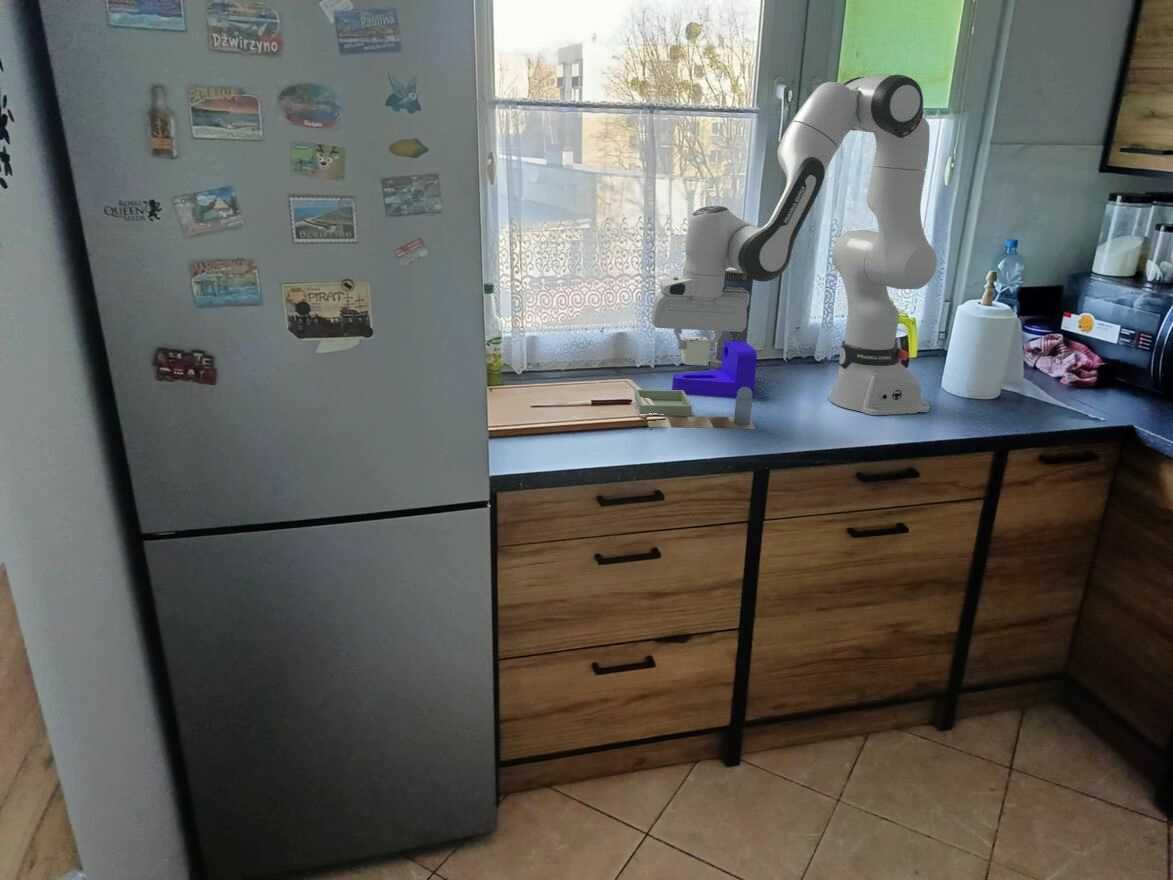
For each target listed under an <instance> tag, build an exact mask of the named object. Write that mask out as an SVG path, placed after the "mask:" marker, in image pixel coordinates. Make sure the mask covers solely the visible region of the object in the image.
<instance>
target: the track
mask: <svg viewBox="0 0 1173 880" xmlns="http://www.w3.org/2000/svg"><path fill="white" fill-rule="evenodd" d="M647 425H648V428H649V430H652V428H678V429H679V428H683V429H684V428H685V429H689V428H693V429H744V430H745V429H747V430H750V429H751V430H756V427H755V425H754V424H753V422H752V420H750V424H749V425H737V424H735V423H734V416H692V415H691V416H666V419H665V420H656V421H648V423H647Z"/></svg>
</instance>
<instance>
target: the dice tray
mask: <svg viewBox="0 0 1173 880" xmlns="http://www.w3.org/2000/svg"><path fill="white" fill-rule="evenodd" d="M634 397H635V400H636V404H637V407H638V410H639V413H640V414H649V413H652V414H653V413H658V414H664V415H666V416H692V404H691V402H690V400H689V399H688V396H687V394H685V392H684V390H672V389H634ZM640 397H643V398H649V399H651V400H652V402H653V403H654V405H643V404H642V401H641V398H640Z"/></svg>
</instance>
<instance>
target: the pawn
mask: <svg viewBox="0 0 1173 880" xmlns="http://www.w3.org/2000/svg"><path fill="white" fill-rule="evenodd" d="M752 406H753V397H752V391H751V389H750V388H748V387H742V388H740V389H739V390H738V392H737V397H736V398H735V406H734V414H733V417H734V423H735V424H737V425H749V424H750V421H751V415H752Z"/></svg>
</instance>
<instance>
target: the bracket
mask: <svg viewBox="0 0 1173 880" xmlns="http://www.w3.org/2000/svg"><path fill="white" fill-rule="evenodd" d="M756 369H757V352H756V349H755V348H753V346H751V345H750V344H749V343H747V342H745V341H743V342H725V343H724V346H723V354H722V365H721V369H720V370H712V371H710V370H704V371H695V372H689V373H688V372H686V373H677V374H673V375H672V385H671V390H684V392H685V394H686V395H693V396H695V395H696V396H704V397H705V396H707V397H718V398H720V397H722V398H732V399H736V397H737V392H738V390H739V389H740V388H742V387H748V388H750V389H751V391H752V398H753V396H754V395H753V394H754V387H755V379H756V378H755V377H756Z"/></svg>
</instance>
